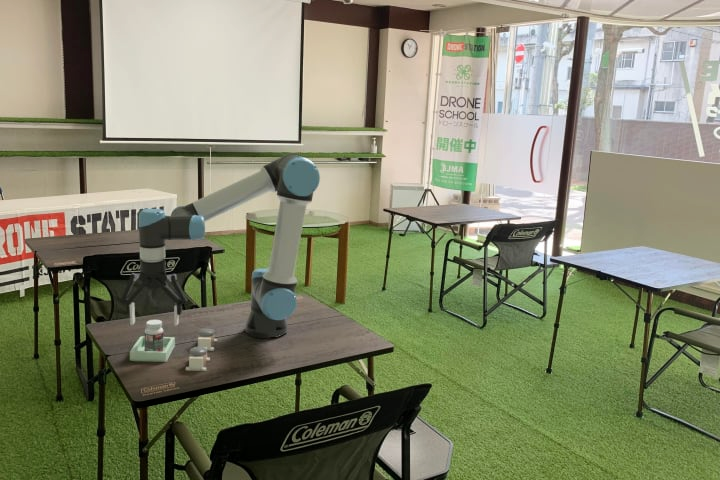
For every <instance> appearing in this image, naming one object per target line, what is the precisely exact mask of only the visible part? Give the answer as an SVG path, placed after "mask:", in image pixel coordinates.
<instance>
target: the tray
mask: <svg viewBox="0 0 720 480" xmlns="http://www.w3.org/2000/svg"><path fill="white" fill-rule="evenodd" d="M175 347H176V337H175V336H172V337H171V336H163V351H145V335H143V336H142V335H141V336H140V337H139V338H137V340H136V342H135V344H134V345H133V347H132V348H131V350H130V351H129V361H131V362H153V363H154V362H156V363H157V362H158V363H159V362H160V363H166V362H168V361H169V360H168V359H169V358H170V356H171V354H172V352H173V350H174V349H175Z"/></svg>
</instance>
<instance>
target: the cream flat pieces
mask: <svg viewBox="0 0 720 480" xmlns="http://www.w3.org/2000/svg"><path fill="white" fill-rule="evenodd" d="M217 342H218V339H217V338H214V343H217ZM197 347H204V348H206V349H207V352H208V351H209V352H210V351H211V352H212V351H213V352H214V350H215V347H214V346H213V347H211V337H199V336H198V337H197ZM188 359H189V360H188V366H186V367H185V371H195V372H197V371H198V372H207V366H205V367H203V357H190V356H189V358H188ZM210 361H211V357H207V361H206V362H210Z"/></svg>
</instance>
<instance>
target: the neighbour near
mask: <svg viewBox="0 0 720 480" xmlns="http://www.w3.org/2000/svg"><path fill="white" fill-rule="evenodd" d="M189 357H203V367H207V362H208V361H207V358H208V351H207V349H206V348H204V347H198V346H194V347H191V348H190V349H189Z"/></svg>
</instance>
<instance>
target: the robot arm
mask: <svg viewBox="0 0 720 480" xmlns="http://www.w3.org/2000/svg"><path fill="white" fill-rule="evenodd" d="M320 175H321V174H320V171H319V168H318V167H317V166H316V164H315V163H314V162H313V161H312V160H311V159H309V158H306V157H304V156H300V155H299V154H296V153H290V154H285V155H282V156H281V157H279V158H277V159H275V160H273V161H271V162H269V163H267V164H265V165H263V166H261V167H260V170H259V171H257V172H255V173H253V174H251V175H248V176H246V177H244V178H242V179H239V180H238V181H236V182H233V183H232V184H229V185H227V186H226V187H225V186H224V187H223V188H220V189H218V190H217V191H214V192H212V193H209V194H208V195H205V196H203V197H201V198H198V199H197V200H195V201H193V202H191V203H188V204H186V205H180V206H177V207H175V208H174V209H173V210H172V212H171V213H170V215H166V214H165V211H164V209H160V208H145V209H142V210H140V211H139V213H138V234H139V235H138V238H139V259H140V262H139V263H140V264H139V265H140V266H139V269H140V274H138V273H136V272H132V273H131V274H130V275H129V280H128V281H129V282H128V283H127V286H126V287H125V288H124V291H123V293H122V296H121V297H120V299H119V302H120V303H121V304H125V305H126V315H129V323H130V326H133V325H134V324H135V323H136V314H135V313H136V309H135V302H133V301H134V300H135V299H136V297H137V296H138V295H139V294H140V293H141V292H142V291H143V290H144V288H147V289H155V290H158V289H160V290H162V291H163V292H164V293H165V294H166V295H167V296H168V297H169V298H170V299H171V301H173V303H174V307H173V310H174V311H173V313H174V314H173V315H174V318H173V319H174V326H176V327H177V326H178V325H179V323H180V322H179V320H180V318H179V316H180V315H182V312H183V311H182V310H183V309H182V306H183V305H186V304H187V302H188V300H189V298H188V297H187V295H186V294H185V292H184V290H183V288H182V286H181V284H180V283H179V280H178V277H177V274H176V273H175V272H174V273H172V274H167V265H166V259H165V258H166V241H179V240H180V241H183V240H184V241H187V240H189V241H191V240H192V241H195V240H202V239H204V237H206V223H205V222H207V221H210V220H211V219H214V218H216V217H218V216H220V215H223V214H225V213H227V212H228V211H231V210H233V209H235V208H237V207H239V206H242V205H244V204H246V203H248V202H250V201H252V200H254V199H256V198H258V197H260V196H262V195H265V194H267V193H269V192H272V193H276V196H277V198H278V199H279V207H278V212H277V218H276V223H275V229H274V230H275V231H274V235H273V242H272V246H271V254H270V258H269V265H268V267H267V268H265V267H264V268H256V269H254V270H253V271H252V273H251V278H250V279H251V290H250V291H251V293H250V297H251V298H250V311H249V314H248V317H247V320H246V323H245V326H244V331H245V333H246V334H247V335H248V336H251V337H253V338H257V337H258V338H257V339H270V338H269V337H276V336H279V335H282V334H284V333H286V332H287V333H288V331H287V330H288V322H287V318H289V317H291V316H292V315H293V314H294V312H296V309H297V306H298V299H297V296H296V291H297V284H298V279H297V277H296V276H295V271H296V264H297V260H298V253H299V247H300V243H301V237H302V233H303V226H304V221H305V214H306V210H307V209H306V208H307V206H308V205H309V204H310V203H312V201H313V197H314V196H313V195H314V192H315V191H316V190H317V189H318V187H319V184H320V182H321V180H320V179H321V176H320ZM138 279H139V280H140V282H141V283H142V284H141V285H139V287H138V288H137V289H136V290H135V291H134V293H133V294H132V295H131V296H130V297H129V298H128V296H129V294H130V292H131V290H132V288H133V286H134V284H135V282H136V281H137V280H138ZM167 280H168V281H169V282H171V285H172V286H173V289H174V290H175V291H173V290H172V288H171V287H170V286H169V284H168V283H167V282H166V281H167ZM175 292H176V293H175ZM287 333H286V334H287Z"/></svg>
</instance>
